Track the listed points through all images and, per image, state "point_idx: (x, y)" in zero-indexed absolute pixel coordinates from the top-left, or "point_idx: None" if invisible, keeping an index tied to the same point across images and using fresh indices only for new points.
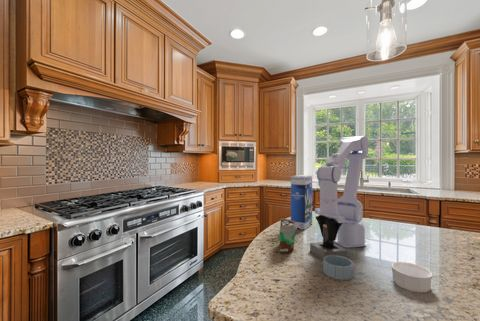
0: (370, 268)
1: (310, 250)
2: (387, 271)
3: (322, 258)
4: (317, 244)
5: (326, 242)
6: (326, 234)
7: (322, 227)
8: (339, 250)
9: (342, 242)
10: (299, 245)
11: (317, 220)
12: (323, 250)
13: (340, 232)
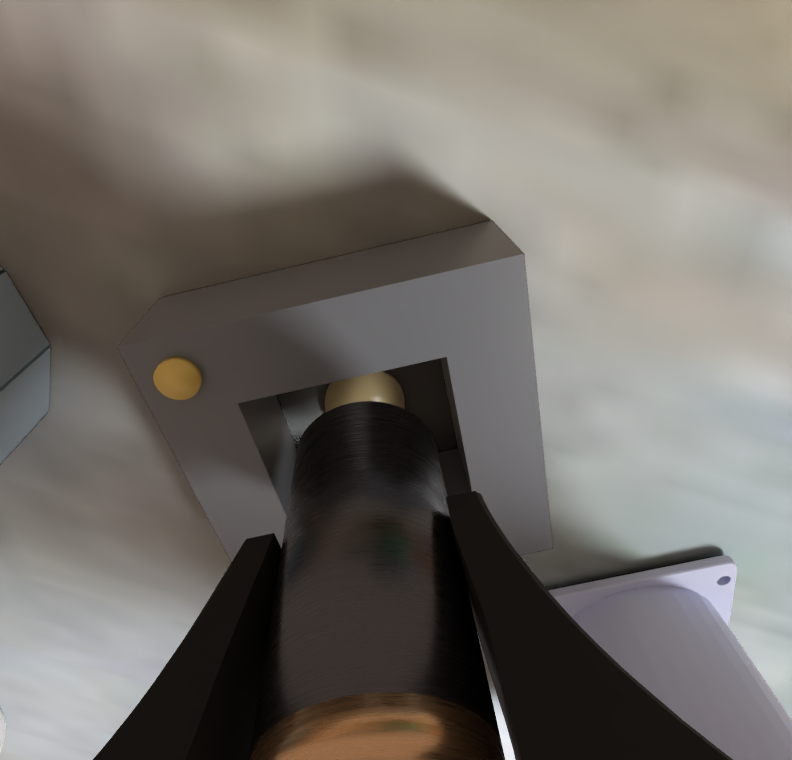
0: (102, 613)
1: (486, 225)
2: (79, 680)
3: (196, 296)
4: (445, 347)
5: (303, 474)
6: (288, 580)
7: (492, 643)
8: (232, 534)
9: (605, 616)
10: (736, 119)
11: (677, 753)
12: (200, 357)
13: (682, 707)
